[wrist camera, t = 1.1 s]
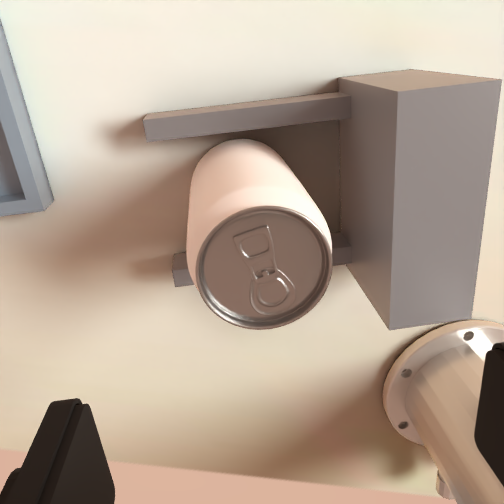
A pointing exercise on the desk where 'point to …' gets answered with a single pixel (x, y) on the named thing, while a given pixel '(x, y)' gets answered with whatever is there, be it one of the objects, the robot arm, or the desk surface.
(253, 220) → the can
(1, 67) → the tray
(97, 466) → the robot arm
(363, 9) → the desk surface
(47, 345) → the desk surface
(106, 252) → the desk surface
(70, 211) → the desk surface
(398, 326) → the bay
